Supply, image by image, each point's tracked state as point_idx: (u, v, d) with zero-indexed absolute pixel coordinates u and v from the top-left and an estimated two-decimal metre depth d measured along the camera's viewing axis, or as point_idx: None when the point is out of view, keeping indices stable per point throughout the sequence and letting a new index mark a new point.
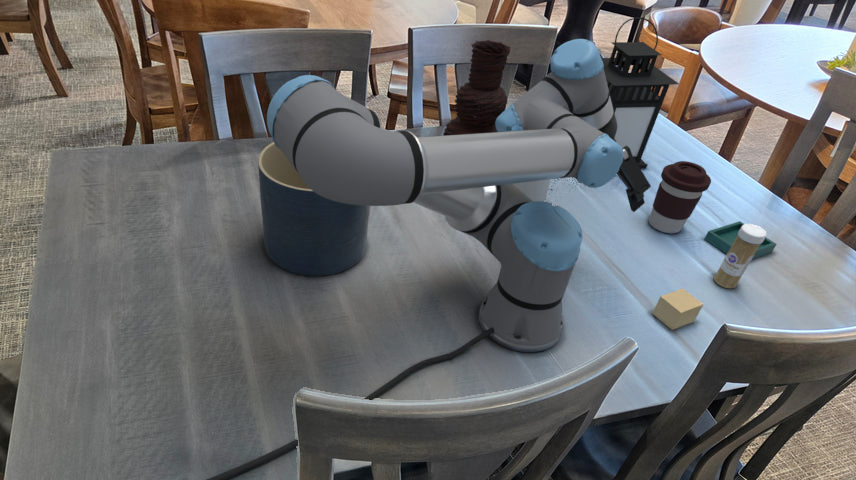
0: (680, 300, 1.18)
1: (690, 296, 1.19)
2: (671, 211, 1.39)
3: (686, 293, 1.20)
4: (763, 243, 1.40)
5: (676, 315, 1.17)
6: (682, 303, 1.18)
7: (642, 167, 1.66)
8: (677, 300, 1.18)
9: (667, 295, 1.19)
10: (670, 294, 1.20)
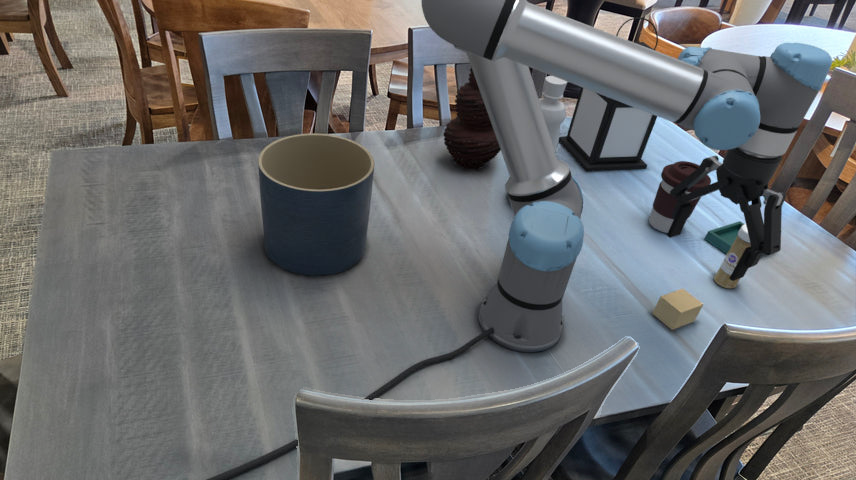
0: (680, 300, 1.18)
1: (690, 296, 1.19)
2: (671, 211, 1.39)
3: (686, 293, 1.20)
4: None
5: (676, 315, 1.17)
6: (682, 303, 1.18)
7: (642, 167, 1.66)
8: (677, 300, 1.18)
9: (667, 295, 1.19)
10: (670, 294, 1.20)
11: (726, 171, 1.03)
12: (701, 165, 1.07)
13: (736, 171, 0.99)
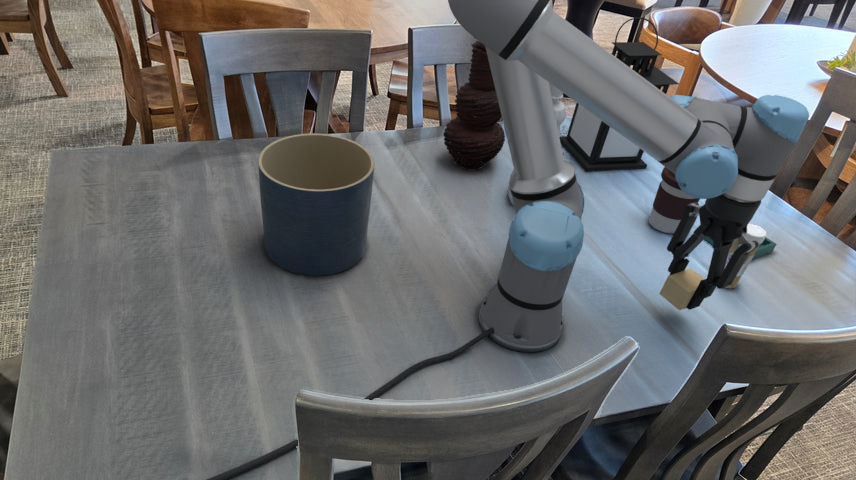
0: (688, 280, 1.15)
1: (698, 276, 1.16)
2: (671, 211, 1.39)
3: (694, 273, 1.17)
4: (763, 243, 1.40)
5: (684, 295, 1.14)
6: (690, 282, 1.15)
7: (642, 167, 1.66)
8: (685, 280, 1.15)
9: (675, 275, 1.16)
10: (678, 274, 1.17)
11: (708, 211, 1.08)
12: (684, 213, 1.12)
13: (717, 213, 1.03)
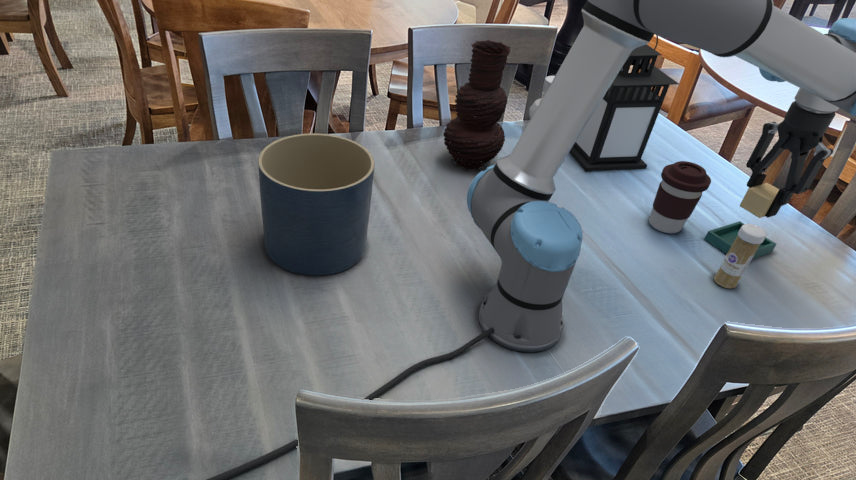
0: (766, 191, 1.32)
1: (775, 188, 1.33)
2: (671, 211, 1.39)
3: (771, 186, 1.34)
4: (763, 243, 1.40)
5: (764, 204, 1.30)
6: (768, 193, 1.31)
7: (642, 167, 1.66)
8: (764, 191, 1.32)
9: (754, 187, 1.33)
10: (757, 187, 1.33)
11: (786, 126, 1.24)
12: (763, 131, 1.28)
13: (797, 125, 1.20)
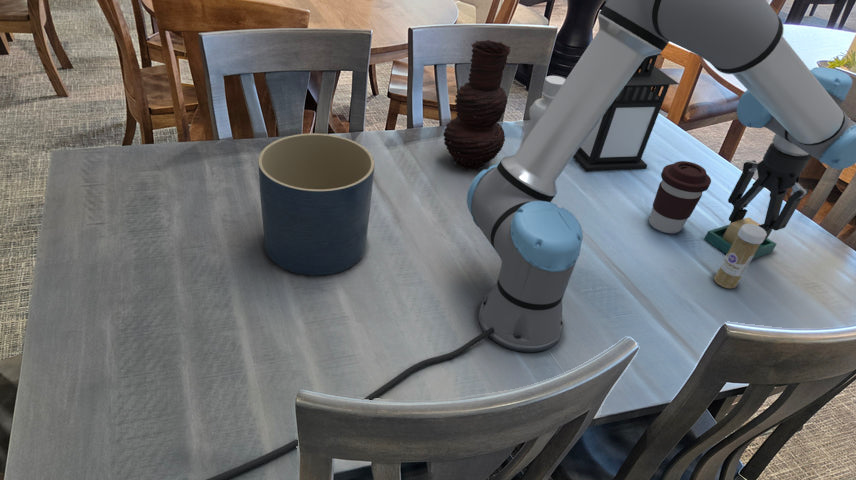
0: None
1: (755, 223, 1.39)
2: (671, 211, 1.39)
3: (752, 221, 1.39)
4: (763, 243, 1.40)
5: None
6: None
7: (642, 167, 1.66)
8: None
9: (735, 222, 1.39)
10: (738, 221, 1.39)
11: (765, 166, 1.30)
12: (744, 169, 1.34)
13: (774, 166, 1.26)
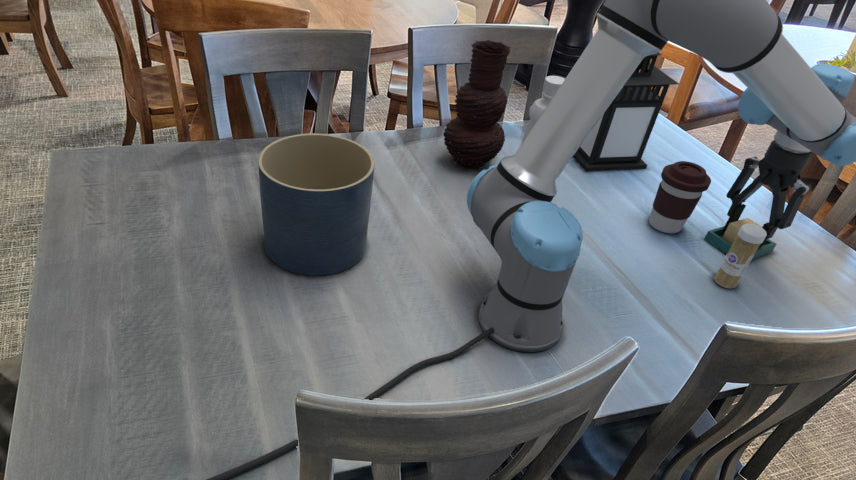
0: None
1: (755, 223, 1.39)
2: (671, 211, 1.39)
3: (751, 221, 1.39)
4: None
5: None
6: None
7: (642, 167, 1.66)
8: None
9: (735, 222, 1.39)
10: (737, 221, 1.39)
11: (767, 163, 1.30)
12: (745, 165, 1.34)
13: (776, 163, 1.25)
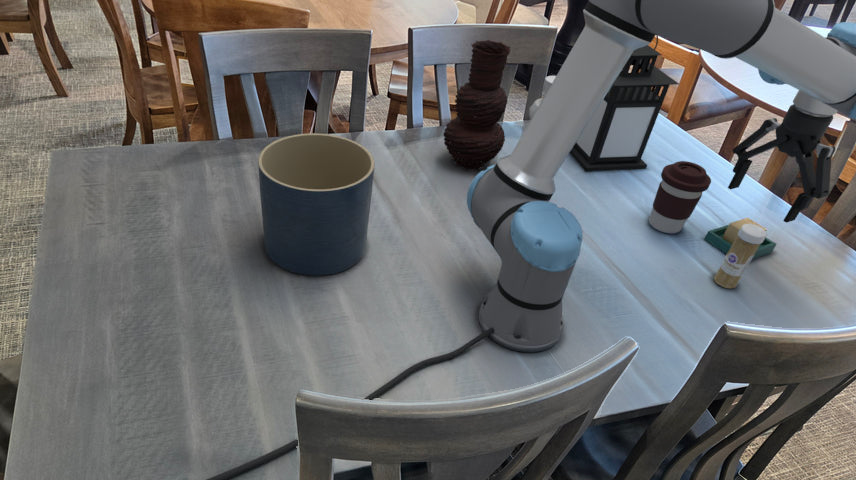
0: None
1: (755, 223, 1.39)
2: (671, 211, 1.39)
3: (751, 221, 1.39)
4: (763, 243, 1.40)
5: None
6: None
7: (642, 167, 1.66)
8: None
9: (735, 222, 1.39)
10: (737, 221, 1.39)
11: (784, 130, 1.25)
12: (762, 126, 1.28)
13: (795, 128, 1.21)
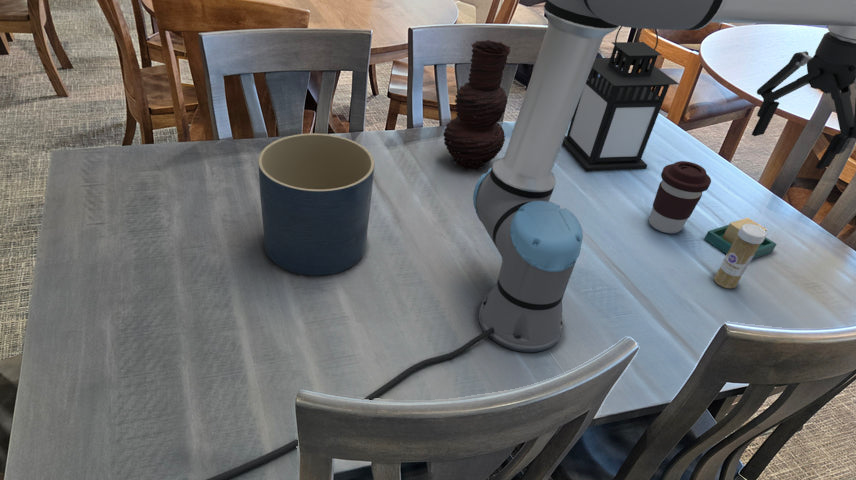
0: None
1: (755, 223, 1.39)
2: (671, 211, 1.39)
3: (751, 221, 1.39)
4: (763, 243, 1.40)
5: None
6: None
7: (642, 167, 1.66)
8: None
9: (735, 222, 1.39)
10: (737, 221, 1.39)
11: (817, 62, 1.10)
12: (791, 60, 1.14)
13: (830, 58, 1.06)
